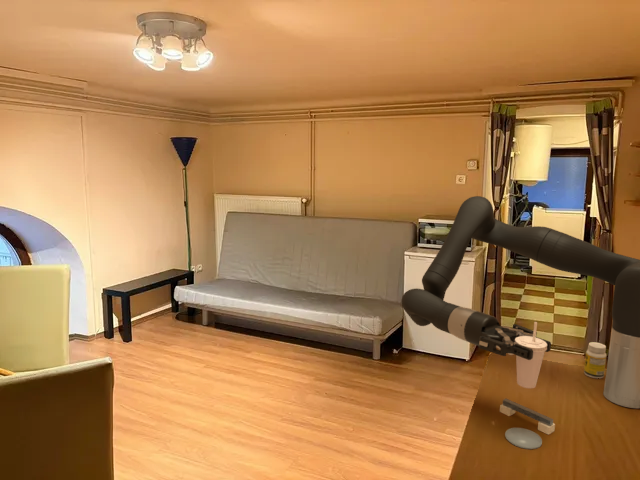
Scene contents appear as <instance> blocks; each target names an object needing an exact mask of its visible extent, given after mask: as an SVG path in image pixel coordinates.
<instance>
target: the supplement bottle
mask: <svg viewBox="0 0 640 480" xmlns="http://www.w3.org/2000/svg"><path fill="white" fill-rule="evenodd" d="M606 350H607V346H606V345H605V344H604V343H600V342H595V341H594V342H593V341H591V342H589V343H588V346H587V349H586V352H585V360H584V367H583V374H584V375H585V376H587V377H588V378H593V379H598V378H599V379H603V378H604V377H605V373H606V372H605V371H606V365H607V364H606V362H607V353H606Z"/></svg>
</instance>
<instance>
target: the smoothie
mask: <svg viewBox="0 0 640 480" xmlns="http://www.w3.org/2000/svg"><path fill="white" fill-rule="evenodd" d="M537 328H538V322H537V321H534V323H533V337H531V336H519V337H517V338H515V342H514V343H515V344H519V345H522V346H525V347H527V348H530V349H532V350H533V358H532V359H531V360H527V359H525V358H522V357H520V356H517V355H515V358H516V360H515V363H516V384H517V385H518V386H520V387H522V388H524V389H534V388H536V387H537V383H538V378H539V375H540V371H541V368H542V363H543V360H544V356H545V351H546V350H547V343H546V342H545V341H543V340H541V339H542V338H541V339H539V338H540V337H538V338H536V337H537V335H536V332H537Z"/></svg>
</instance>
